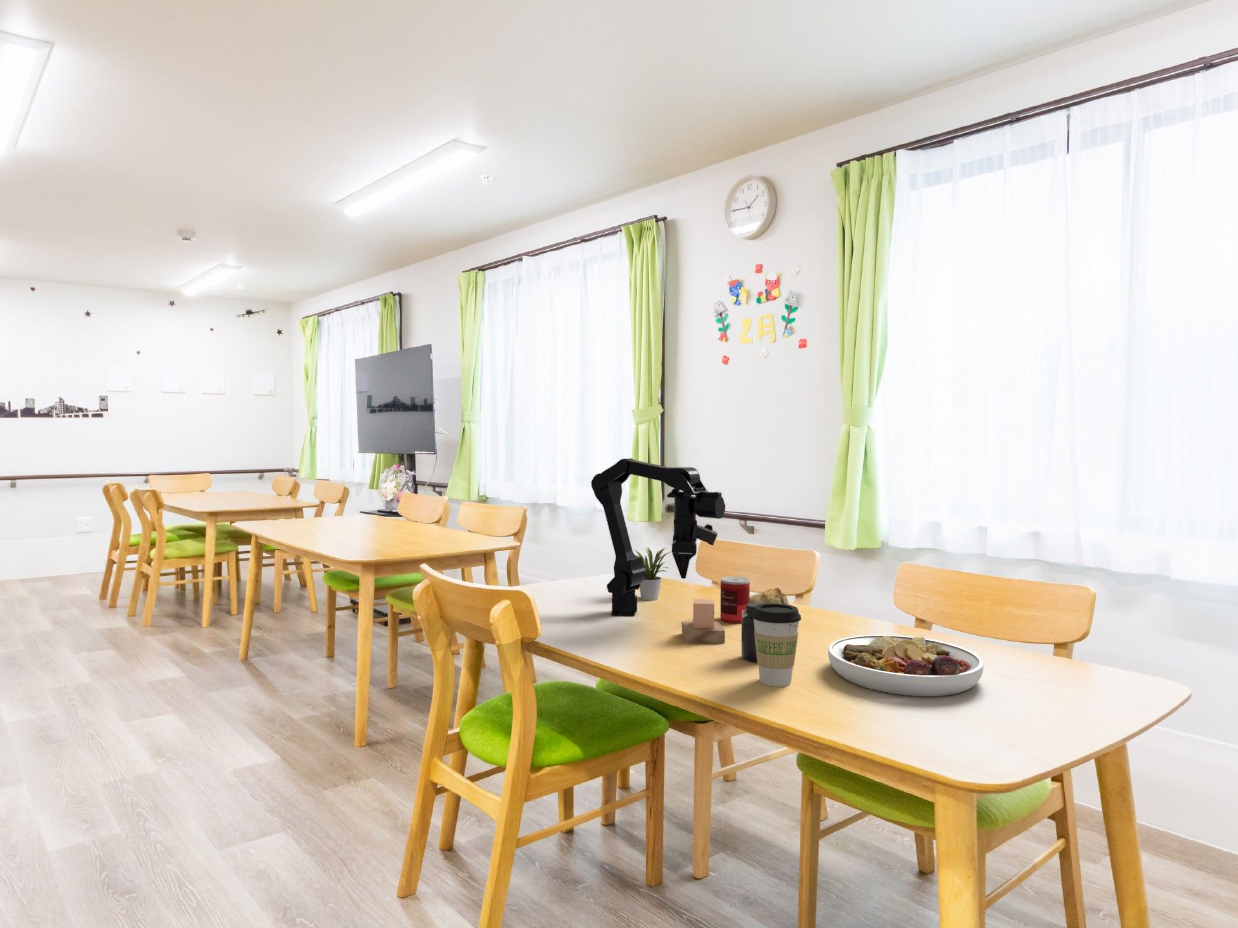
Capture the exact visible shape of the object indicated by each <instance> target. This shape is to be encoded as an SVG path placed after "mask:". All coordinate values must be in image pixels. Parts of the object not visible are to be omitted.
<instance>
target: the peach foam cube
mask: <svg viewBox="0 0 1238 928" xmlns="http://www.w3.org/2000/svg"><path fill="white" fill-rule="evenodd" d="M692 600H693V601H692V602H693V603H692V604H693V605H692V608H693V609H692V610H693V611H692V612H693V614H692V621H693V628H703V629H714V621H715V600H714V599H708V598H706V599H703V598H701V599H700V598H693V599H692Z"/></svg>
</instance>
